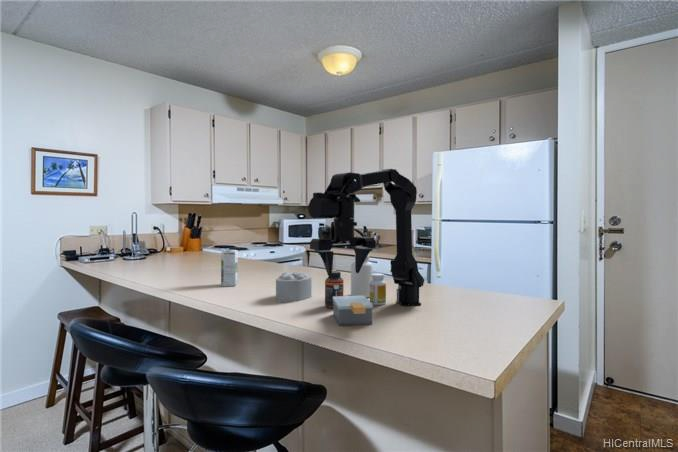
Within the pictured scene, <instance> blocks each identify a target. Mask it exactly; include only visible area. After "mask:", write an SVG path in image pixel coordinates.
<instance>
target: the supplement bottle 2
mask: <svg viewBox="0 0 678 452" xmlns="http://www.w3.org/2000/svg"><path fill="white" fill-rule="evenodd" d="M384 278H385V274H384V273H377V272H376V273H373V274H372V279H373V280H371V281H370V297H369V301H370V302H371V303H372V304H373V306H374V305H375V306H382V305H385V304H386V303H387V282H386V280H384Z"/></svg>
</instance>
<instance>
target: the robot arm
mask: <svg viewBox="0 0 678 452" xmlns="http://www.w3.org/2000/svg"><path fill="white" fill-rule="evenodd" d="M379 184H383V187H384V191H385V192H386V193H387V194H388V195H389V199H390V203H391V206H392V207H393V208H394V211H395V231H396V232H395V233H396V234H395V235H396V236H395V238H396V243H395V244H396V255H395V257H394V259H391V260H390V271H389V272H390V273H391V276H392V279H393V282H394V283H393V284H395V285H398V286H397V288H396V302H397V304H399V305H401V306H403V307H406V306H421V305H422V303H421V302H420V288H421V287H424V283H425V278H424V277H423V275H422V274H421V273H420V272H419V268H418V262H417V260H416V258H415V257H414V254H413V237H412V236H413V234H412V233H413V230H412V229H413V228H412V227H413V226H412V225H413V223H412V210H413V208H414V206H415V204H416V203H417V193H418V190H417V186H416V185H415V184H413V182H412V181H411V180H410V179H409V178H407V177H406V176H404V175H402V174H401V173H400V172H398V170H397V169H394V168H385V169H381V170H378V171H377V170H376V171H373V172H366V173H365V172H364V173H360V172H349V171H348V172H343V173H342V172H341V173H336V174H333V175H332V176H331V179H330V183H329V184H328V186H327V187H326V189H325V191H324V192H313V193H312V198H311V199H310V201H309V202H308V203H309V204H308V206H307V207H308V208H307V210H308V214H309V217H311V218H312V219H314V220H315V219H325V220H326V219H333V221H331V223H330V228H327V227H326V226H319V227H318V228H317V229H318V231H317V236H318V238H311V240H310V242H309V249H310V250H312V251H313V252H314V253H317V254H318V255H319V256H320V258H321V260H322V262H323V265H324V268H325V271H326V274H327V276H328V277H329V276H331V273H332V271H333V261H334V251H332V249H333V248H342V247H343V248H344V247H353V251H354V254H355V255H354V262H355V270H356V273H359V272H360V269H361V267H362V265H363V263H364V261H365V259H366V257H367V256H368V255H370V253H371V252H372V251H373V248H377V241H376V239H375V238H374V237H371V236H370V237H368V236H355V227H357V226H358V222H357V221H356V222H355V203H360V202H361V199H360V198H359V197H358V196H357V195H356V193H357V192H359V191H361V190H362V189H363V188H365V187H369V186H375V185H379Z"/></svg>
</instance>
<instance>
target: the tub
mask: <svg viewBox="0 0 678 452" xmlns="http://www.w3.org/2000/svg"><path fill="white" fill-rule="evenodd" d="M332 309H333V312H332V313H333V316H334V318H335V321H336V322H337V324H338V326H339V327H344V326H345V327H347V326H348V327H350V326H365V325H366V326H367V325H373V308H366V313H364V314H354V313H353V312H352V310H351V309H340V310H339V309H338V307H337V306H336V304H335V302H334V301H333V308H332Z"/></svg>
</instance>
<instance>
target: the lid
mask: <svg viewBox="0 0 678 452" xmlns="http://www.w3.org/2000/svg"><path fill="white" fill-rule="evenodd" d="M333 301H334V302H335V304H336V306H337V307H338V309H339V310H340V309H351V310H352V312H353V313H354V314H364V313H366V308H372V309H373V308H374V304H372V303H371V302H370V299H368V297H367V298H366V297H365V296H364V295H360V296H351V295H343V296H334V297H333Z"/></svg>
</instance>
